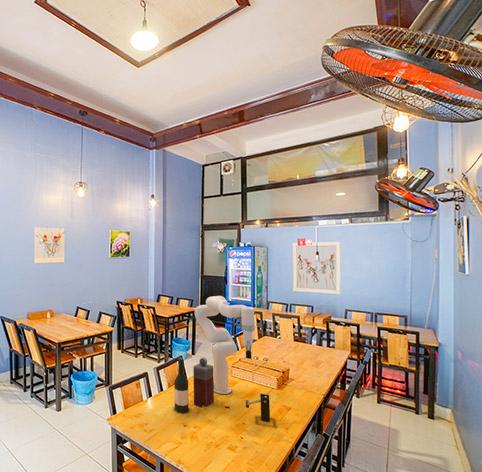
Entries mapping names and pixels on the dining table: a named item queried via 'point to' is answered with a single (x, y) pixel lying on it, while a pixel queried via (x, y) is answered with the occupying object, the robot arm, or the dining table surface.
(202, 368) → the square decanter
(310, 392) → the dining table surface
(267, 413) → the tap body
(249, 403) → the faucet lever
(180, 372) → the wine bottle
